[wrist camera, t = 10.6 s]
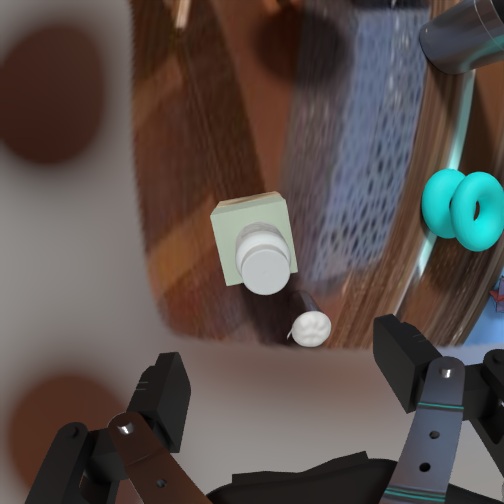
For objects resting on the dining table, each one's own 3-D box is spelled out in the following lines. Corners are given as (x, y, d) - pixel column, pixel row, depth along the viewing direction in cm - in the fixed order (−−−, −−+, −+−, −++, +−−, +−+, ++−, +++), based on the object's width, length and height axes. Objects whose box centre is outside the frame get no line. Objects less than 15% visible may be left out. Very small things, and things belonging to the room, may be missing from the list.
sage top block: (279, 195, 33) (285, 200, 28) (290, 257, 35) (297, 271, 30) (215, 208, 33) (210, 215, 28) (228, 269, 35) (226, 285, 30)
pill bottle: (272, 271, 30) (283, 308, 22) (229, 256, 29) (225, 290, 22) (290, 229, 29) (307, 255, 21) (245, 212, 28) (247, 233, 21)
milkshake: (279, 283, 41) (290, 318, 31) (318, 286, 41) (339, 320, 31) (275, 313, 42) (283, 354, 32) (312, 316, 42) (330, 356, 33)
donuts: (506, 167, 27) (512, 241, 30) (462, 163, 37) (470, 226, 40) (455, 180, 28) (462, 264, 30) (412, 175, 37) (422, 243, 40)
